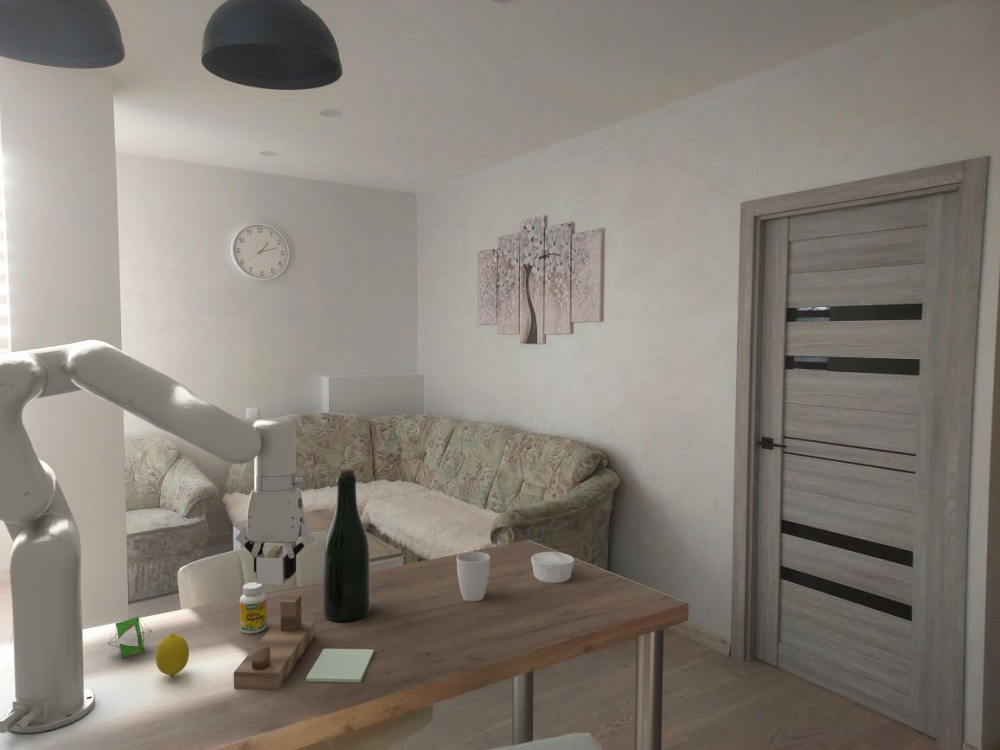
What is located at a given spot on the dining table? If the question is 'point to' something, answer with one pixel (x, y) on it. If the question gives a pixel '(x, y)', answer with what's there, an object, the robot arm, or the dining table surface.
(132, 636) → the geometric puzzle
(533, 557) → the ramekin
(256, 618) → the supplement bottle
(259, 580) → the white block
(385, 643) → the dining table surface
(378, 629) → the dining table surface
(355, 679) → the mat
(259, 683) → the tan board with knob
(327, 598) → the dark green wine bottle
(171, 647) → the lemon
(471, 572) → the cup
